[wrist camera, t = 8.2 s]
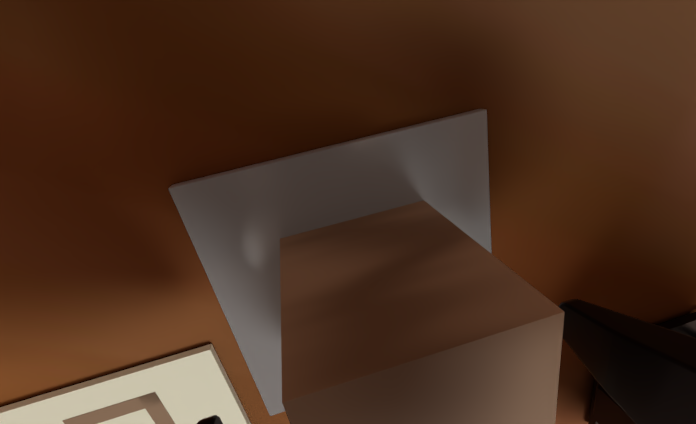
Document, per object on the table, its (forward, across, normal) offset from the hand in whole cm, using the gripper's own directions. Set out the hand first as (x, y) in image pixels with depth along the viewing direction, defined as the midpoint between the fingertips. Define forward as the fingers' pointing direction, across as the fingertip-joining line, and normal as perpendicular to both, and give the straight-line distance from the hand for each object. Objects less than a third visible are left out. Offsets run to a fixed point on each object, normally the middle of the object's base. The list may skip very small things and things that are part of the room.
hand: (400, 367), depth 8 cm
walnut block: (+4, 0, 0) cm, 4 cm away
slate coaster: (+4, 0, 0) cm, 4 cm away
